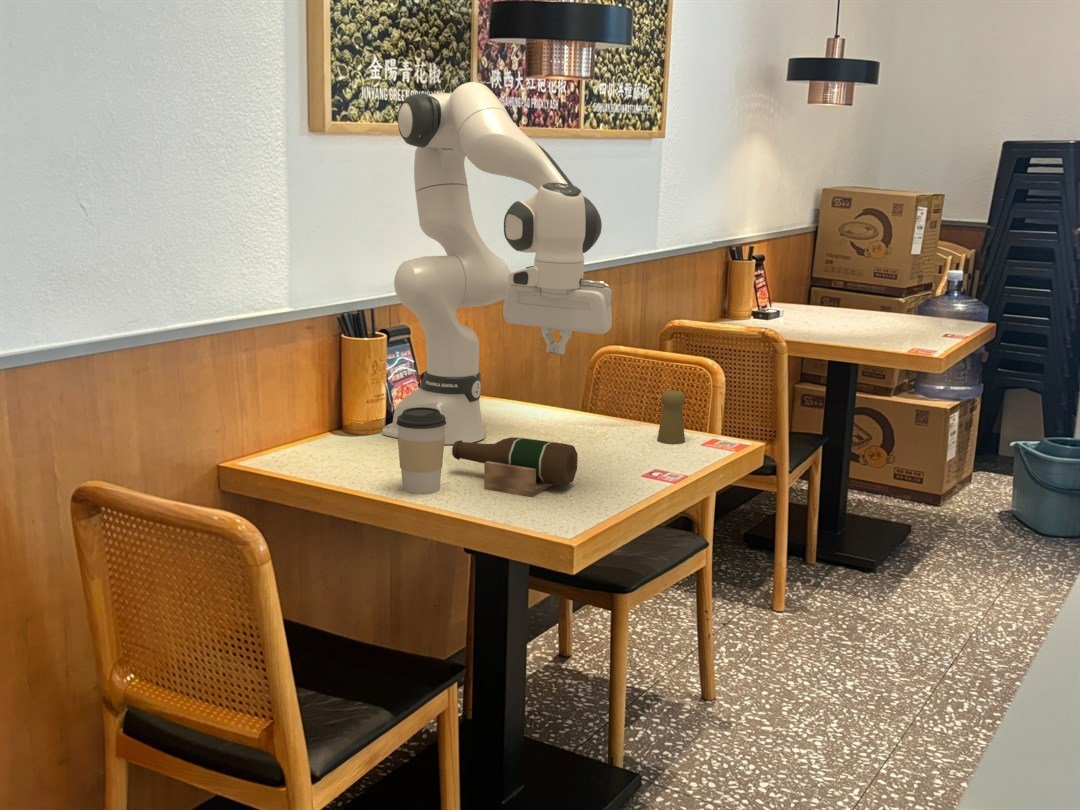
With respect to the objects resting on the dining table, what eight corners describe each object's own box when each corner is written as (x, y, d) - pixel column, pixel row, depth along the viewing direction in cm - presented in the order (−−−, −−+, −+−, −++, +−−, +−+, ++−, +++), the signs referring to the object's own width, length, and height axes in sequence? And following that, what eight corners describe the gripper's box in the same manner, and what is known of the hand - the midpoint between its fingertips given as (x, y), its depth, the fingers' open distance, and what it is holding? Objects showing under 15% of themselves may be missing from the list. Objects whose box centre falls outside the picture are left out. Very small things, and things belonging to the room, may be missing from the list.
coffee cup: (386, 488, 211) (385, 408, 208) (422, 478, 218) (422, 401, 214) (419, 499, 205) (419, 417, 202) (456, 488, 212) (456, 409, 208)
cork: (682, 437, 252) (685, 388, 250) (686, 444, 247) (689, 394, 244) (655, 436, 252) (657, 387, 250) (658, 444, 246) (661, 393, 244)
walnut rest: (484, 488, 212) (484, 462, 211) (515, 472, 223) (515, 447, 222) (532, 497, 208) (533, 470, 207) (561, 479, 219) (562, 454, 218)
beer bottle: (565, 495, 211) (449, 477, 220) (580, 469, 217) (466, 453, 226) (560, 461, 207) (442, 444, 216) (575, 436, 213) (460, 421, 222)
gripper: (619, 280, 202) (615, 357, 206) (516, 270, 211) (514, 344, 214) (605, 284, 197) (601, 363, 200) (500, 273, 205) (498, 349, 209)
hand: (555, 353), depth 207 cm, fingers closed
